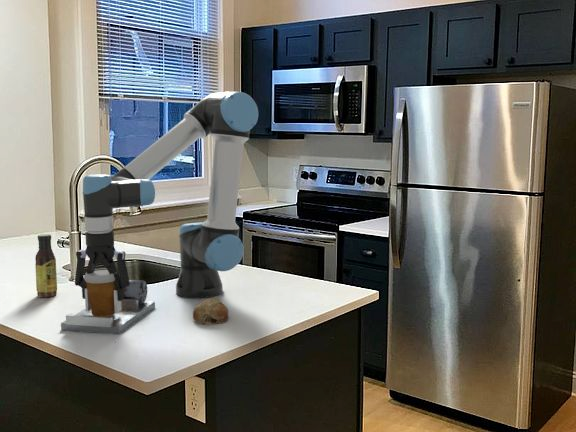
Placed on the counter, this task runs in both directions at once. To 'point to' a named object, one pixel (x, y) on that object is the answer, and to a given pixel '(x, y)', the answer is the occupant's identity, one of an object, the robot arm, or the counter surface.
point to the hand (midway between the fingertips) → (103, 310)
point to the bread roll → (210, 312)
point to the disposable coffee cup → (101, 292)
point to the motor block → (117, 322)
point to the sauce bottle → (45, 268)
